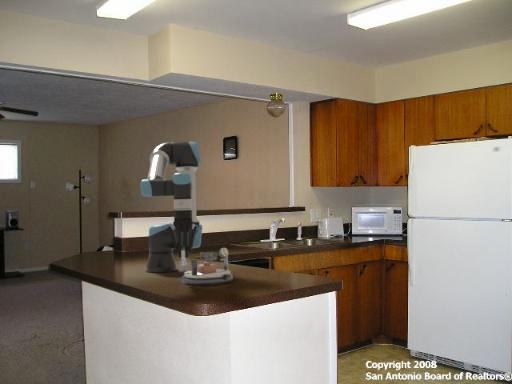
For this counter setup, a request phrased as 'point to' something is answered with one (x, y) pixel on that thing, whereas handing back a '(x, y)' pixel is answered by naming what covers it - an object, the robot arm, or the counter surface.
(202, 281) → the turntable base
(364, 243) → the counter surface
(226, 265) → the indicator stand
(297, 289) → the counter surface
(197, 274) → the platter
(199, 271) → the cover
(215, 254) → the mechanical component
